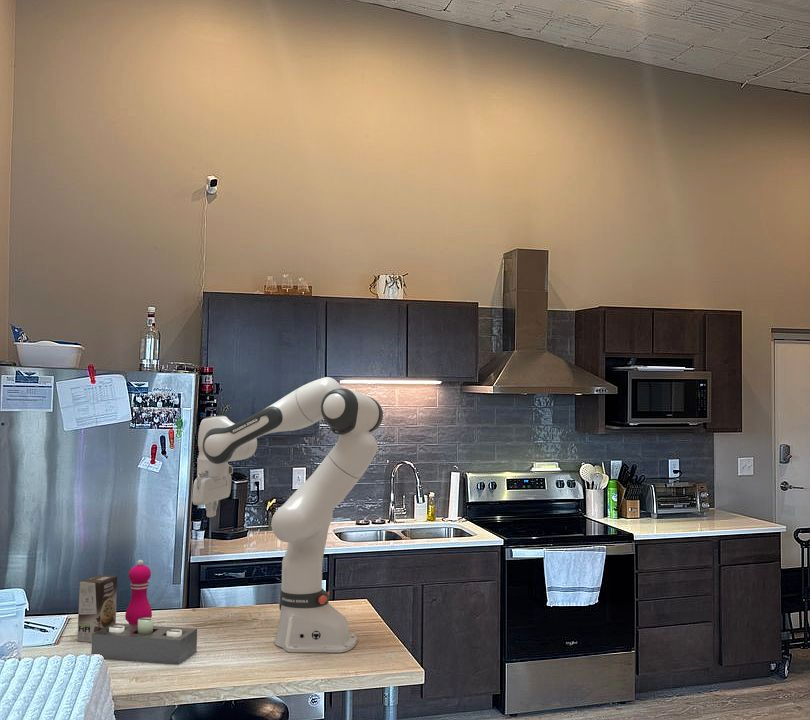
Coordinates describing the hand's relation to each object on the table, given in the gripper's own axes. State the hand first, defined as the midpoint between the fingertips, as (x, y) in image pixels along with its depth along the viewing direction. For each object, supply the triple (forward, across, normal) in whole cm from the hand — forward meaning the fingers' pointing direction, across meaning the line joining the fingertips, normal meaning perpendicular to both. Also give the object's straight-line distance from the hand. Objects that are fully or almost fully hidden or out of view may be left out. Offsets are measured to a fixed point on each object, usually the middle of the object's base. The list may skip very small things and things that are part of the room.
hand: (211, 516), depth 236 cm
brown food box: (+31, -20, +24) cm, 44 cm away
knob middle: (+27, -31, +4) cm, 41 cm away
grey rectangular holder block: (+31, -31, +4) cm, 44 cm away
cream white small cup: (+29, -31, -4) cm, 43 cm away
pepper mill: (+31, -12, +16) cm, 37 cm away
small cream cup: (+29, -31, +12) cm, 44 cm away
